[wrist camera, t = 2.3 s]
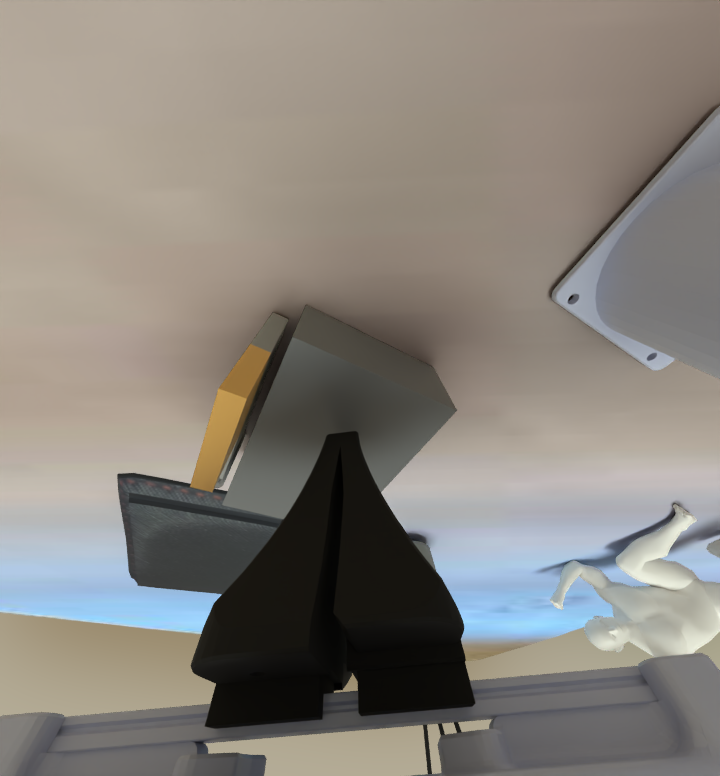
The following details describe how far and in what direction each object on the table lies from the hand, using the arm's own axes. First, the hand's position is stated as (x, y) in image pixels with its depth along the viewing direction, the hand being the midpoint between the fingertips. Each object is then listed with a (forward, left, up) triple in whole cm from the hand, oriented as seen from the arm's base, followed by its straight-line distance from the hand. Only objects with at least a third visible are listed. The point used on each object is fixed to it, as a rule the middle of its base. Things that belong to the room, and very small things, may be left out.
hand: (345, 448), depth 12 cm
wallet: (+3, +23, -6) cm, 24 cm away
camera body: (0, +2, -5) cm, 6 cm away
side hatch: (+5, +2, -5) cm, 7 cm away
